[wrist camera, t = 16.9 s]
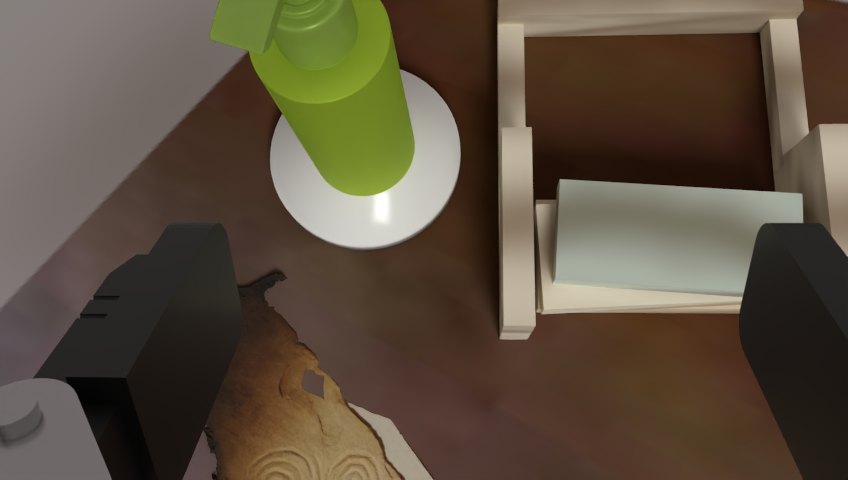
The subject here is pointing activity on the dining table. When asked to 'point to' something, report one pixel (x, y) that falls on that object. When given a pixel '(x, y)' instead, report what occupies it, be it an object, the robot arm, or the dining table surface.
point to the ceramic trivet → (385, 212)
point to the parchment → (294, 413)
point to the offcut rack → (653, 204)
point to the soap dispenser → (330, 83)
